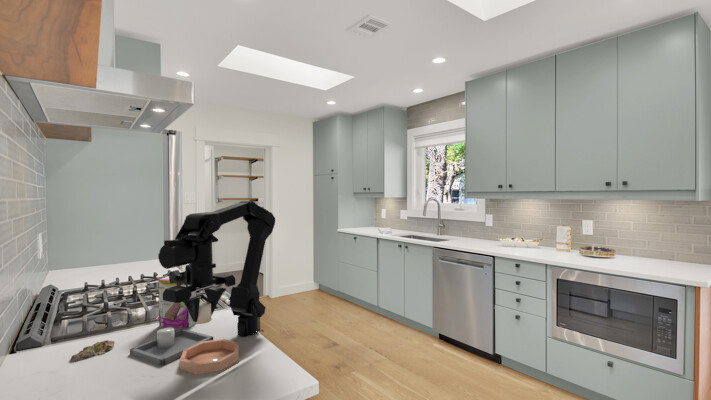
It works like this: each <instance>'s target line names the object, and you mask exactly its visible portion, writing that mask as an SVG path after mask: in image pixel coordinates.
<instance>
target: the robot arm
mask: <svg viewBox="0 0 711 400" xmlns="http://www.w3.org/2000/svg"><path fill="white" fill-rule="evenodd" d="M239 218H242V219H243V220H244V221H245V222H246V223H247V229H246V230H247V232H248V235H249V242H248V245H247V250H246V256H245V259H244V264H243V269H242V273H241V278H240V281H239V283H238V284H237V285H236V277H235V276H234V274H230V273H223V272H221V273H219V274H215V275H214V269H215V268H217V264H216V263H213V262H214V261H213V243H217V242H219V239H218V237H216V236H215V235H214V233H216V232H217V231H219V230H220V229H221V227H222V226H223V225H225V224H228V223H230V222H232V221H235V220H238V219H239ZM275 225H276V217H275V215H274V214H273V213H272V212H271V211H269V210H268V209H266V208H264V207H262V206H260V205H258V204H257V203H256V202H255V201H252V200H242V201H239V202H238V203H235V204H231V205H229V206H226V207H222V208H220V209H217V210H213V211H209V212H195V213H190V214H188V215H186V216H185V219H184V222H183V224H182V225H181V227H180V229H179V230H178V233H177V234H176V236H175V238H174V239H166V240H164V241H163V246H161V247H160V250H159V253H158V254H157V255H158V262H159V264H160V265H161V267H163V268H164V269H167V270H169V269H173V268H177V267H180V266H185V267H184V268H185V269H184V271H180V270H179V269H177V270H176V269H175V270H172V271H170V272H169V274H168V276H169V280H170V283H171V284H174V283H176V284H177V286H174V287H170V288H167V289H165V290H164V292H163V300H164V301H169V302H174V303H180V302H183V303H184V304H185V305H186V307H187V309H188V311H189V313H190V316H191V318H192V320H193V322H197V319H198V312H199V303H201V302H200V301H201V297H199V296H197V297H196V295H197V293H198V292H201V291H204V292H205V295H206V302H210V303H211V317H212V316H213V314H214V311H215V310H216V308H217V305H218V303H219V301H220V299H221V297H222V295H223V293H224V292H225V291H227V288H230V287H232V288H231V290H230V296H229V298H228V301H229V307H230V309H231V311H232V314H233V316H238V317H237V321H238V322H237V326H236V327H237V337H242V338H245V337H248V336H253V335H257V334H258V333H259V332H262V333H264V332H265V331H264V329H261V318H262V317H263V315H265V312H266V306H265V305H264V304H263V303H262V302H261V301H260V294H261V293H260V291H259V287H258V280H259V279H258V278H259V275H260V269H261V265H262V261H263V260H262V259H263V255H264V250H265V245H266V240H267V239H268V238H269V236H270V235H271V234H272V233H273V231H274V227H275ZM182 284H184V285H190V286H189V287H183V286H181V285H182ZM223 285H225V286H226V287H227V288H224V287H223ZM256 331H257V332H258V333H257V332H256Z"/></svg>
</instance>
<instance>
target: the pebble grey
mask: <svg viewBox="0 0 711 400" xmlns="http://www.w3.org/2000/svg"><path fill="white" fill-rule="evenodd" d="M174 332H175V327H163V328H161V329H158V330H157V331H156V339H157V347H158V348H159V349H165V348H169V347H172V346H173V345H174V344H175V336H174Z"/></svg>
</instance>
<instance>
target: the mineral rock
mask: <svg viewBox="0 0 711 400" xmlns="http://www.w3.org/2000/svg"><path fill="white" fill-rule="evenodd" d="M114 346H115V341H114V340H108V339H106V340H102V341H97V342H96V343H94V344H92V345H89V346H85V347H83V349H82V350H80V351H79V352H78V353H76V354H73V355H71V357H70V361H72V362H79V361H83V360H85V359H88V358H92V357H97V356H103V355H105V354H106V353H108V352H110V351H113V348H114Z"/></svg>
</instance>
